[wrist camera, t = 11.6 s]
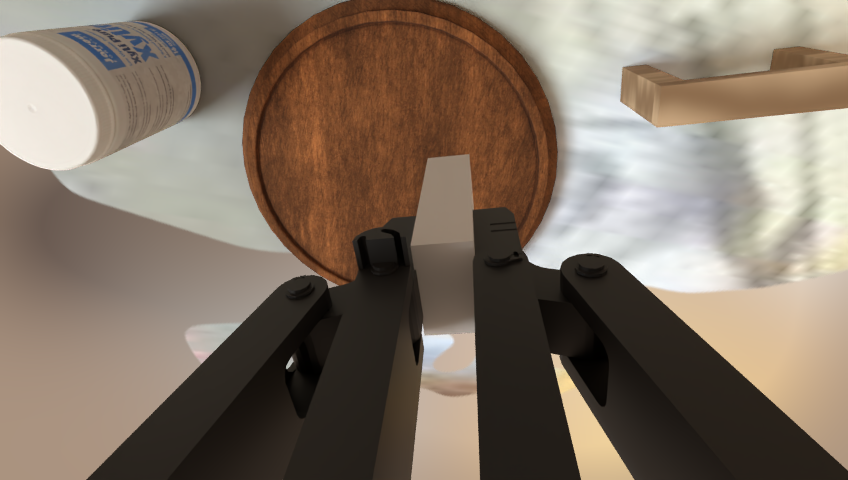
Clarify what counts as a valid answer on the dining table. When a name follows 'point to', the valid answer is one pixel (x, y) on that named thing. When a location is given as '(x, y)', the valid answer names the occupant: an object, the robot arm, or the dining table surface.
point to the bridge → (740, 90)
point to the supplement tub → (91, 90)
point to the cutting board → (391, 124)
